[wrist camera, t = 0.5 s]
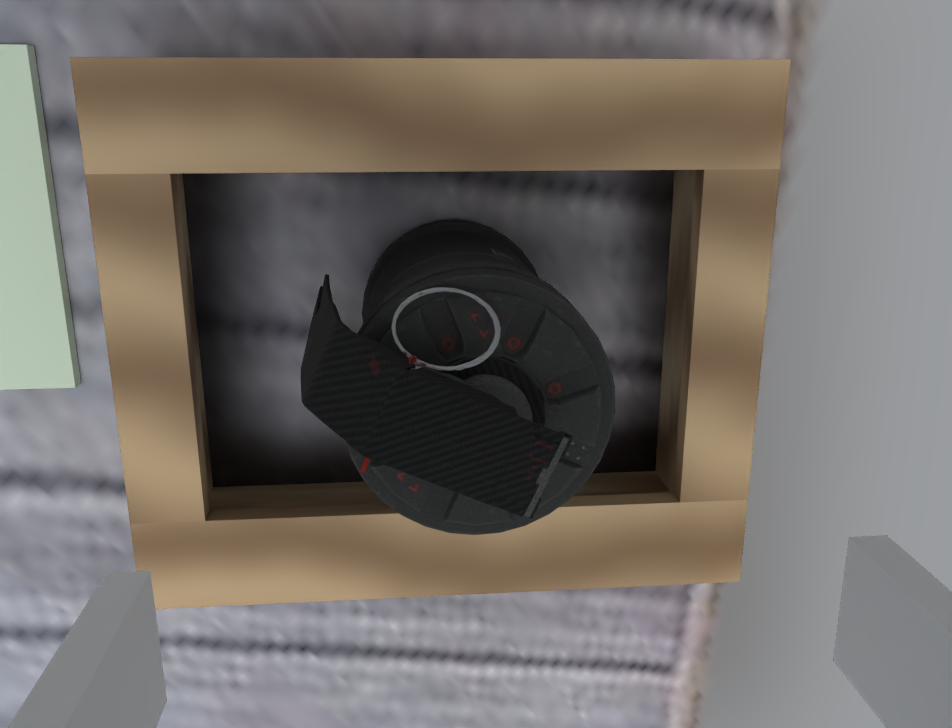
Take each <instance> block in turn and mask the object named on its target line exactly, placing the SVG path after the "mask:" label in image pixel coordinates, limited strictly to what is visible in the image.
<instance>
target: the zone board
mask: <svg viewBox="0 0 952 728" xmlns="http://www.w3.org/2000/svg"><path fill="white" fill-rule="evenodd" d="M80 383H81V378H80V371H79V364H78V357H77V350H76V343H75V335H74V328H73V321H72V314H71V307H70V300H69V293H68V285H67V278H66V271H65V264H64V257H63V250H62V243H61V235H60V228H59V221H58V214H57V207H56V200H55V193H54V185H53V178H52V171H51V164H50V157H49V150H48V143H47V135H46V128H45V121H44V114H43V107H42V100H41V93H40V85H39V78H38V71H37V64H36V57H35V50H34V46H32V45H9V44H0V390H5V389H42V388H76V387H77V386H78V385H79V384H80Z"/></svg>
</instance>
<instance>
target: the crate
mask: <svg viewBox="0 0 952 728" xmlns="http://www.w3.org/2000/svg"><path fill="white" fill-rule="evenodd" d="M70 62H71V70H72V77H73V85H74V93H75V101H76V108H77V116H78V124H79V132H80V139H81V147H82V155H83V162H84V170H85V178H86V186H87V193H88V201H89V209H90V217H91V224H92V232H93V240H94V248H95V255H96V263H97V271H98V279H99V286H100V294H101V302H102V310H103V317H104V325H105V333H106V341H107V348H108V356H109V364H110V372H111V379H112V387H113V395H114V403H115V410H116V418H117V426H118V433H119V441H120V449H121V457H122V464H123V472H124V480H125V488H126V495H127V503H128V511H129V519H130V526H131V534H132V542H133V550H134V557H135V565H136V571H150V572H151V580H152V588H153V595H154V603H155V609H168V608H189V607H210V606H232V605H253V604H274V603H295V602H317V601H338V600H359V599H380V598H402V597H423V596H444V595H466V594H487V593H508V592H529V591H551V590H572V589H593V588H614V587H636V586H657V585H678V584H699V583H721V582H739V581H740V574H741V564H742V554H743V542H744V533H745V523H746V513H747V502H748V492H749V481H750V472H751V462H752V451H753V441H754V431H755V421H756V410H757V400H758V390H759V380H760V369H761V359H762V349H763V339H764V329H765V318H766V308H767V298H768V288H769V277H770V267H771V257H772V247H773V237H774V226H775V216H776V206H777V196H778V185H779V175H780V165H781V155H782V145H783V134H784V124H785V114H786V104H787V93H788V83H789V73H790V63H791V59H526V58H211V57H70ZM586 170H675V172H674V188H673V204H672V219H671V235H670V251H669V267H668V282H667V298H666V314H665V330H664V345H663V361H662V377H661V393H660V408H659V424H658V440H657V456H656V471H646V472H619V473H592V474H591V476H590V477H589V479H588V480H587V482H586V483H585V484H584V485H583V486H582V487H581V488H580V489H579V490H578V491H577V492H576V493H575V494H574V495H573V496H572V497H571V498H570V499H569V500H568V501H567V502H565V503H564V504H563V505H561V506H560V507H558V508H557V509H556V510H554V511H553V512H552V513H550V514H549V515H547V516H545V517H543V518H541V519H538V520H536V521H534V522H532V523H530V524H528V525H526V526H523V527H519V528H516V529H512V530H508V531H505V532H501V533H492V534H482V535H467V534H455V533H447V532H444V531H440V530H436V529H432V528H429V527H425V526H423V525H421V524H419V523H416V522H414V521H412V520H410V519H408V518H406V517H404V516H402V515H400V514H399V513H398V512H396V511H395V510H394V509H392V508H391V507H390V506H388V505H387V504H386V503H384V502H383V501H382V500H381V499H380V498H379V497H378V496H377V495H376V494H375V493H374V492H373V490H372V489H371V488H370V487H369V486H368V485H367V484H366V483H365V482H342V483H314V484H286V485H259V486H231V487H213V483H212V473H211V463H210V452H209V442H208V432H207V422H206V411H205V401H204V391H203V381H202V370H201V360H200V350H199V339H198V329H197V319H196V309H195V298H194V288H193V278H192V267H191V257H190V247H189V237H188V226H187V216H186V206H185V196H184V185H183V175H182V173H316V172H451V171H586Z"/></svg>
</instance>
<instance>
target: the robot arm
mask: <svg viewBox="0 0 952 728" xmlns="http://www.w3.org/2000/svg"><path fill="white" fill-rule="evenodd" d="M833 661H834V662H835V663H836V665H837V666H838V667H839V669H840V670H841V671H842V672H843V674H844V675H845V676H846V677H847V679H848V680H849V681H850V682H851V684H852V685H853V686H854V688H855V689H856V690H857V691H858V693H859V694H860V695H861V696H862V698H863V699H864V700H865V701H866V703H867V704H868V705H869V707H870V708H871V709H872V710H873V712H874V713H875V714H876V716H877V717H878V718H879V719H880V721H881V722H882V723H883V724H884V726H885V727H886V728H952V592H951V591H950V590H949V589H948V588H947V587H945V585H943V584H942V583H941V582H940V581H939V580H938V579H937V578H935V577H934V576H933V575H932V574H931V573H930V572H928V571H927V570H926V569H925V568H924V567H923V566H922V565H920V564H919V563H918V562H917V561H916V560H915V559H913V558H912V557H911V556H910V555H909V554H908V553H907V552H906V551H904V550H903V549H902V548H901V547H900V546H898V544H896V543H895V542H894V541H893V540H892V539H891V538H889V537H888V536H887V535H883V536H862V537H849V540H848V548H847V556H846V564H845V571H844V579H843V586H842V594H841V602H840V610H839V617H838V625H837V633H836V641H835V648H834V656H833ZM166 701H167V697H166V689H165V681H164V673H163V665H162V658H161V650H160V642H159V634H158V627H157V619H156V611H155V603H154V595H153V588H152V580H151V572H150V571H131V572H110V573H106V574H105V576H104V578H103V579H102V581H101V582H100V584H99V585H98V587H97V589H96V590H95V592H94V593H93V595H92V596H91V598H90V600H89V601H88V603H87V604H86V606H85V607H84V609H83V611H82V612H81V614H80V615H79V617H78V618H77V620H76V622H75V623H74V625H73V626H72V628H71V629H70V631H69V633H68V634H67V636H66V637H65V639H64V640H63V642H62V644H61V645H60V647H59V648H58V650H57V651H56V653H55V655H54V656H53V658H52V659H51V661H50V662H49V664H48V666H47V667H46V669H45V670H44V672H43V673H42V675H41V677H40V678H39V680H38V681H37V683H36V684H35V686H34V688H33V689H32V691H31V692H30V694H29V695H28V697H27V699H26V700H25V702H24V703H23V705H22V706H21V708H20V710H19V711H18V713H17V714H16V716H15V717H14V719H13V721H12V722H11V724H10V725H9V727H8V728H156V726H157V724H158V721H159V719H160V716H161V714H162V711H163V708H164V706H165V703H166Z"/></svg>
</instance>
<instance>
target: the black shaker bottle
mask: <svg viewBox="0 0 952 728" xmlns="http://www.w3.org/2000/svg"><path fill="white" fill-rule="evenodd" d="M362 316H363V325H362V327H361V329H360V330H359V332H358V334H357V333H355V332H353V331H351V330H350V329H349V328H348V327H347V326H346V325H345V324H343V323H342V321H341V319H340V316H339V314H338V311H337V308H336V306H335V304H334V303H333V300H332V295H331V290H330V284H329V275H328V274H326V275H325V279H324V284H323V287H322V286H321V287H320V290H319V294H318V298H317V302H316V306H315V309H314V313H313V317H312V322H311V326H310V331H309V335H308V340H307V344H306V349H305V353H304V357H303V362H302V367H301V393H302V403H303V404H304V405H305V407H306V408H307V409H309V410H310V411H311V412H312V413H313V414H314V415H315V416H317V417H318V418H319V419H320V420H321V421H322V422H324V423H325V424H326V425H327V426H328V427H329V428H331V429H332V430H333V431H334V432H335V433H336V434H338V435H339V436H340V437H341V438H342V439H344V440H345V442H346V445H347V448H348V451H349V454H350V457H351V460H352V461H353V463H354V465H355V466H356V468H357V470H358V471H359V473H360V475H361V477H362V478H363V480H364V482H365V483H366V484H367V485H368V486H369V487H370V488H371V489H372V490H373V492H374V493H375V494H376V495H377V496H378V497H379V498H380V499H381V500H382V501H383V502H384V503H386V504H387V505H388V506H390V507H391V508H392V509H394V510H395V511H396V512H398V513H399V514H400V515H402V516H404V517H406V518H408V519H410V520H412V521H414V522H416V523H419V524H421V525H423V526H425V527H429V528H432V529H436V530H440V531H444V532H447V533H455V534H467V535H482V534H492V533H501V532H505V531H508V530H512V529H516V528H519V527H523V526H526V525H528V524H530V523H532V522H534V521H536V520H538V519H541V518H543V517H545V516H547V515H549V514H550V513H552V512H553V511H554V510H556V509H557V508H558V507H560V506H561V505H563V504H564V503H565V502H567V501H568V500H569V499H570V498H571V497H572V496H573V495H574V494H575V493H576V492H577V491H578V490H579V489H580V488H581V487H582V486H583V485H584V484H585V483H586V482H587V480H588V479H589V477H590V476H591V474H592V473H593V471H594V470H595V468H596V467H597V465H598V464H599V462H600V460H601V458H602V456H603V453H604V451H605V449H606V446H607V444H608V441H609V439H610V436H611V431H612V426H613V420H614V415H615V385H614V381H613V376H612V372H611V367H610V363H609V360H608V358H607V356H606V354H605V351H604V349H603V347H602V345H601V343H600V341H599V338H598V337H597V336H596V334H595V333H594V332H593V330H592V329H591V328H590V326H589V325H588V324H587V322H586V321H585V320H584V318H583V317H582V316H581V315H580V313H579V312H578V311H577V310H576V309H575V308H574V306H573V305H572V304H571V303H570V302H569V301H568V300H567V299H566V298H565V297H564V296H563V295H561V294H560V293H559V292H558V291H557V290H556V289H555V288H553V287H552V286H551V285H550V284H548V283H547V282H545V281H543V280H541V279H540V278H539V277H538V275H537V273H536V271H535V269H534V267H533V265H532V264H531V262H530V261H529V260H528V258H527V257H526V256H525V254H524V253H523V252H522V251H521V249H520V248H519V247H517V246H516V245H515V244H514V243H513V242H512V241H511V240H510V239H508V238H507V237H506V236H504V235H502V234H501V233H499V232H497V231H495V230H494V229H492V228H490V227H487V226H484V225H481V224H478V223H475V222H468V221H460V220H450V221H438V222H434V223H430V224H427V225H423V226H420V227H418V228H416V229H414V230H412V231H410V232H408V233H406V234H404V235H403V236H402V237H401V238H399V239H398V240H397V241H395V242H394V243H393V244H392V245H390V246H389V248H388V249H387V250H386V251H385V252H384V254H383V255H382V256H381V257H380V258H379V259H378V261H377V263H376V265H375V267H374V269H373V270H372V272H371V274H370V277H369V280H368V283H367V286H366V289H365V293H364V301H363V311H362Z"/></svg>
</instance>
